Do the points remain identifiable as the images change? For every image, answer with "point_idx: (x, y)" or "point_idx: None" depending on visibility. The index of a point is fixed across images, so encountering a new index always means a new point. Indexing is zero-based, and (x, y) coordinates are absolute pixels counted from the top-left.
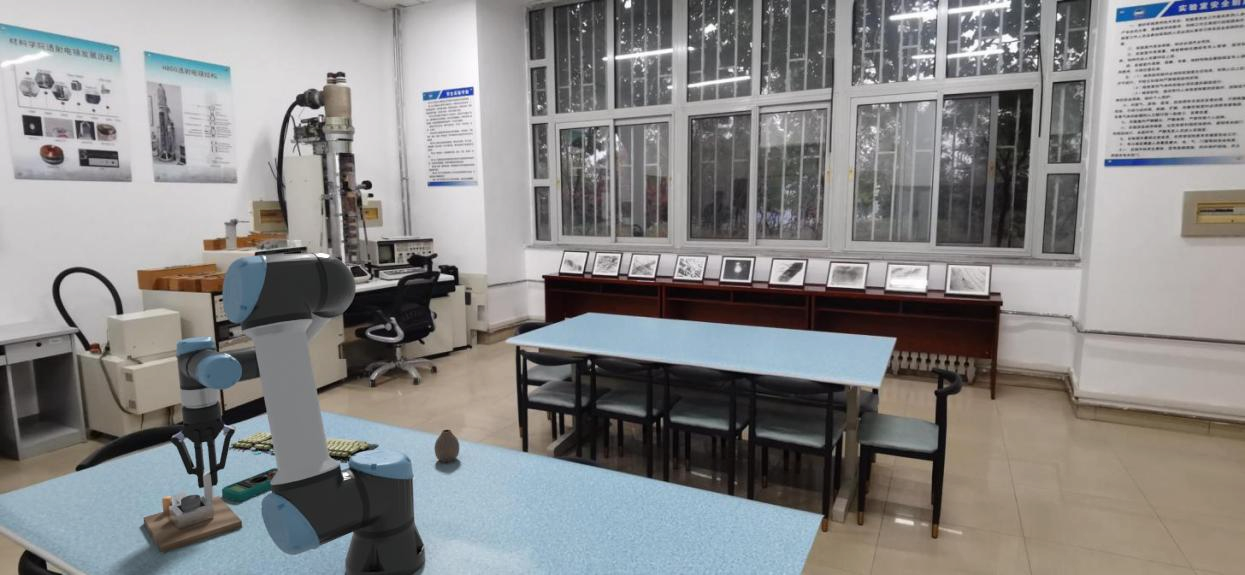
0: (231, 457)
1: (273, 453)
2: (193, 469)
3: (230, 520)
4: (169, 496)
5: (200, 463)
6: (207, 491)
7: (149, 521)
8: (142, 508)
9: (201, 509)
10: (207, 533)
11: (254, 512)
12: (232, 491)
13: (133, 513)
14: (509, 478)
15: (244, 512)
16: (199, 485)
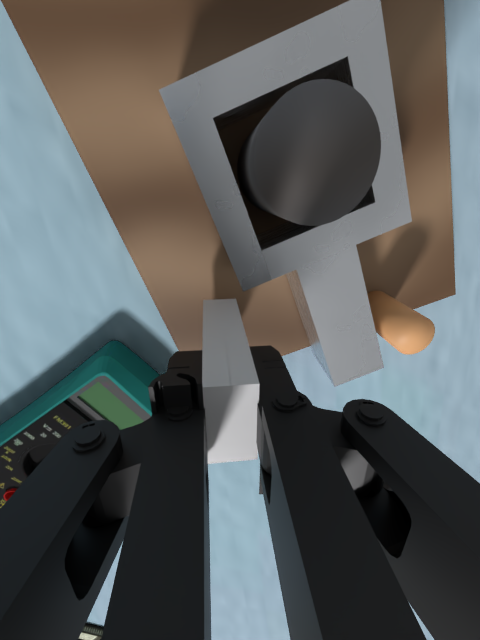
0: (212, 629)
1: (94, 632)
2: (351, 445)
3: (61, 11)
4: (402, 348)
5: (304, 493)
6: (225, 321)
7: (441, 241)
8: (426, 410)
9: (230, 59)
10: None
11: (3, 185)
12: (140, 392)
13: (452, 384)
14: None
15: (59, 211)
16: (273, 355)
